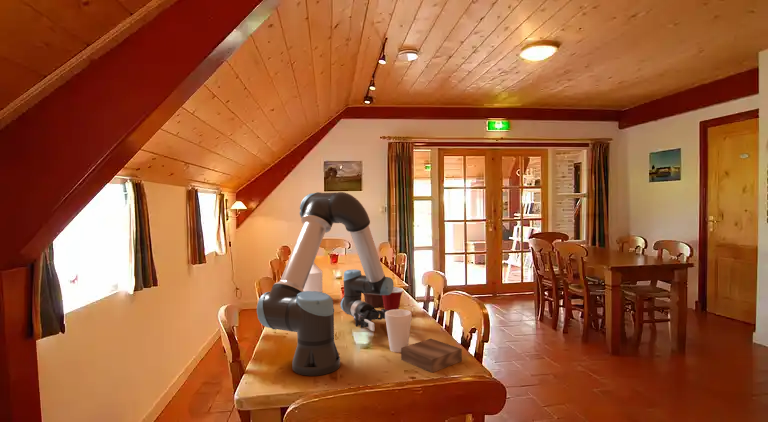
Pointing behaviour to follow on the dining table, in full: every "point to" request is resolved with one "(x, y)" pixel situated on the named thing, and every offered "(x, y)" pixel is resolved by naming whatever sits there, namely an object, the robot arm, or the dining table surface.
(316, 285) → the bottle
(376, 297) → the muffin
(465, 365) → the dining table surface
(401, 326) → the foam cup
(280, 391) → the dining table surface
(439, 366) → the walnut plinth
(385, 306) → the plastic cup
